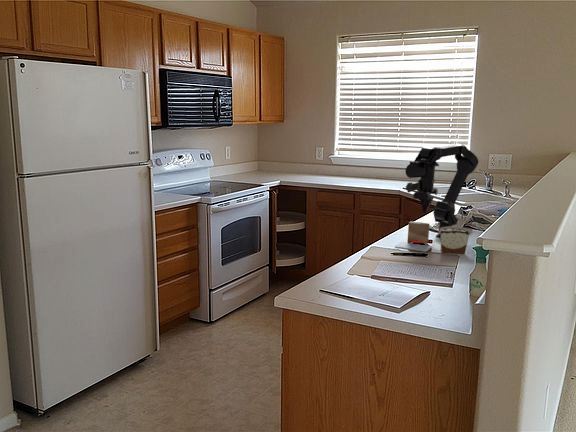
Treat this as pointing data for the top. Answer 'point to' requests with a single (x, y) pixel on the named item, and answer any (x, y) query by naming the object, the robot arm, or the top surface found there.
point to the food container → (454, 240)
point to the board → (413, 246)
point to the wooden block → (418, 232)
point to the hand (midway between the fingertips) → (424, 212)
